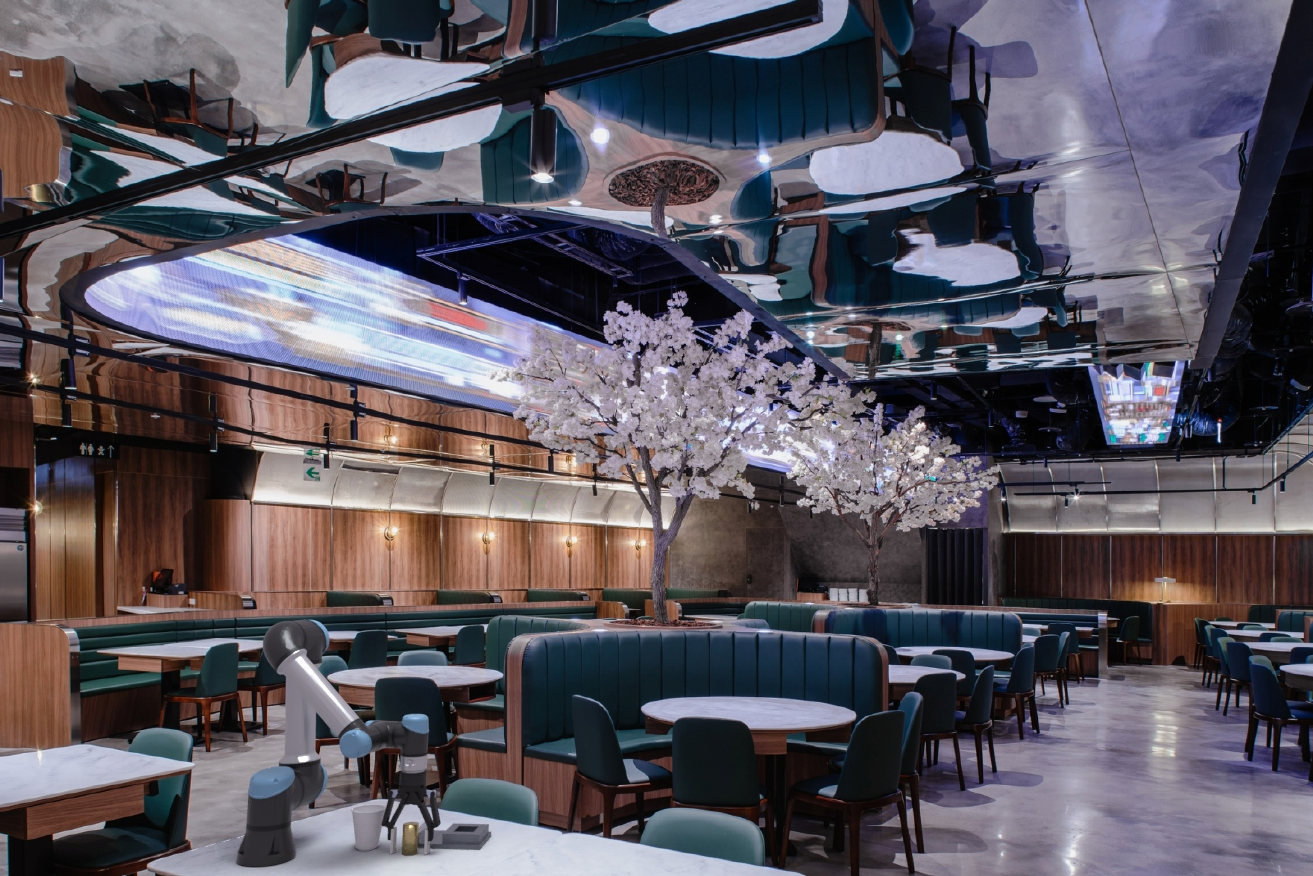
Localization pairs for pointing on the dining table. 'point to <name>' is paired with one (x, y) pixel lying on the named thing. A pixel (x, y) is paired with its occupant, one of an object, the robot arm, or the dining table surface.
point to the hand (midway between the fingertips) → (409, 852)
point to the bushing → (410, 838)
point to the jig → (457, 836)
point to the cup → (367, 825)
